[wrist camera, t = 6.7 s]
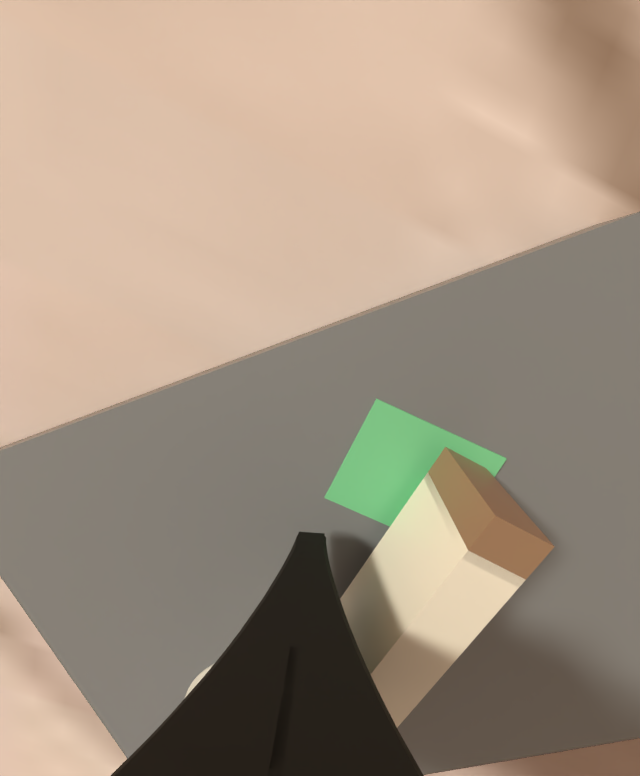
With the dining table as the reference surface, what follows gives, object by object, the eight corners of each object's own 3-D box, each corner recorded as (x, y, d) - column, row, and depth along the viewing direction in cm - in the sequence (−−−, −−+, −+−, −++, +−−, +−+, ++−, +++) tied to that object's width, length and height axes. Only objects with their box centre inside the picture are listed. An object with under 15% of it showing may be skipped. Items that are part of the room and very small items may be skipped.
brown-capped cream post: (293, 798, 12) (277, 970, 9) (181, 750, 12) (124, 911, 9) (539, 496, 9) (651, 606, 6) (389, 417, 8) (419, 486, 5)
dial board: (672, 674, 12) (720, 727, 11) (185, 768, 15) (168, 821, 13) (595, 224, 9) (648, 209, 7) (-18, 454, 12) (-72, 477, 10)
